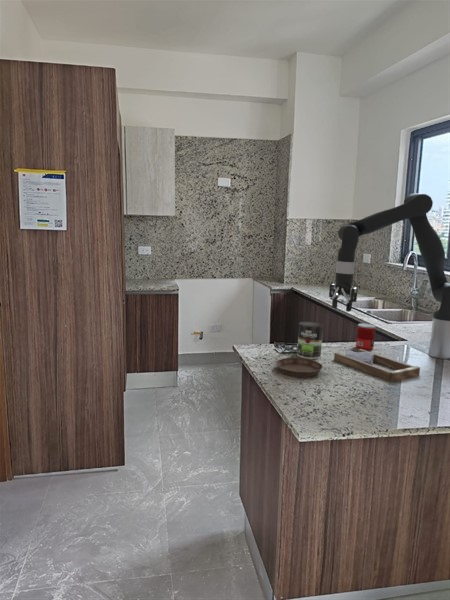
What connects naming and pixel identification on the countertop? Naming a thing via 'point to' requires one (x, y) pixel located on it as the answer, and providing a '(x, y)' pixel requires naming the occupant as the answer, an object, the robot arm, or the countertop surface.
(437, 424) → the countertop surface
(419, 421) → the countertop surface
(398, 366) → the wooden serving tray
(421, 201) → the robot arm
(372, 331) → the canned food
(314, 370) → the plant saucer
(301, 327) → the coffee can
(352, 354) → the stone block
